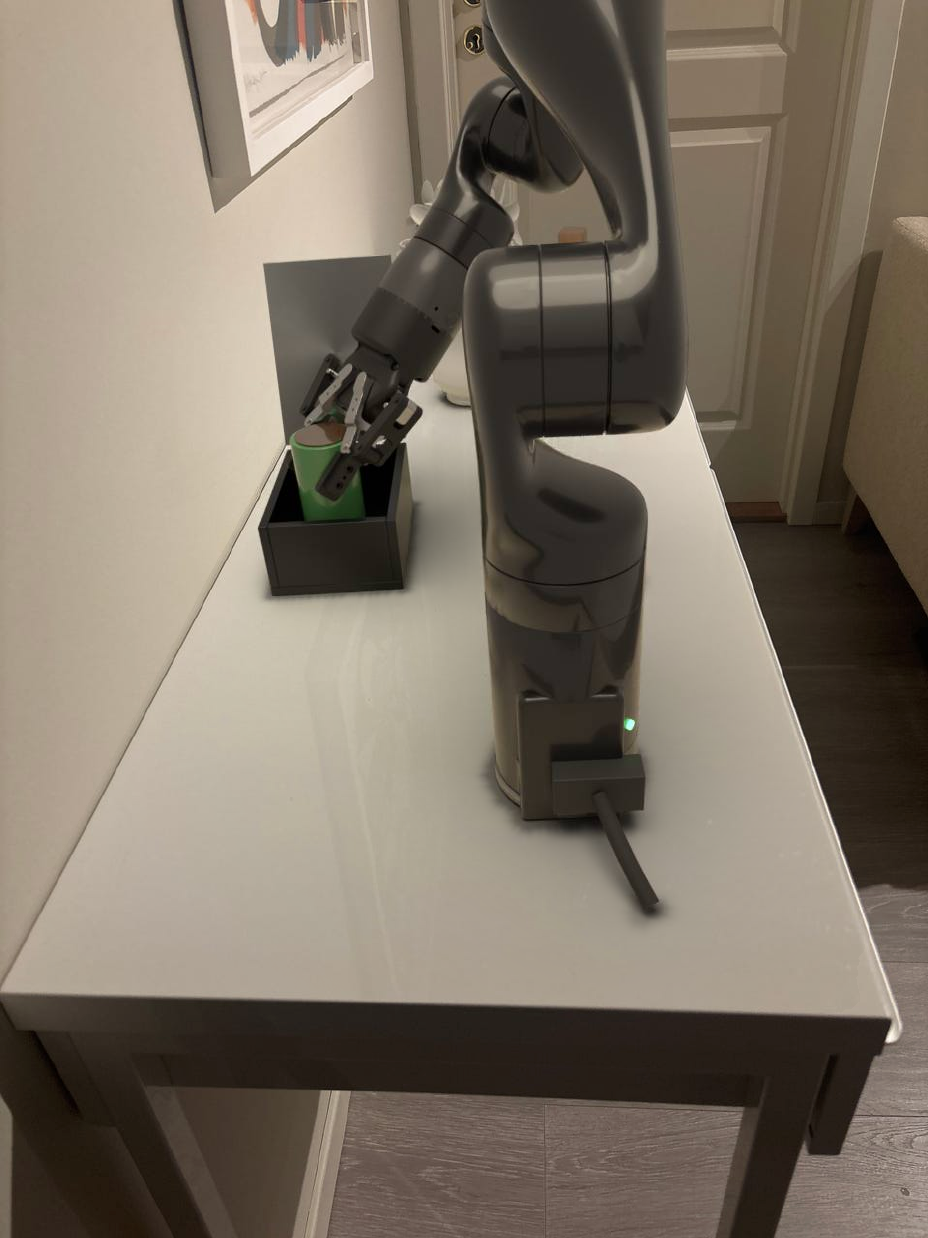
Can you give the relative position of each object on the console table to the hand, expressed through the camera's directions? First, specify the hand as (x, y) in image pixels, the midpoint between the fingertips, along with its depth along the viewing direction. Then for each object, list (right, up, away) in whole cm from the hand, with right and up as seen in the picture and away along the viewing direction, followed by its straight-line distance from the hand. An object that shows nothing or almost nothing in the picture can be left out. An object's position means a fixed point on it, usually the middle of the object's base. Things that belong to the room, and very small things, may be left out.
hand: (309, 482), depth 81 cm
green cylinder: (+2, -6, +5) cm, 8 cm away
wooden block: (+31, +47, +74) cm, 93 cm away
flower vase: (+14, +16, +37) cm, 43 cm away
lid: (+1, +13, +8) cm, 15 cm away
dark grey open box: (+2, -5, +9) cm, 10 cm away
